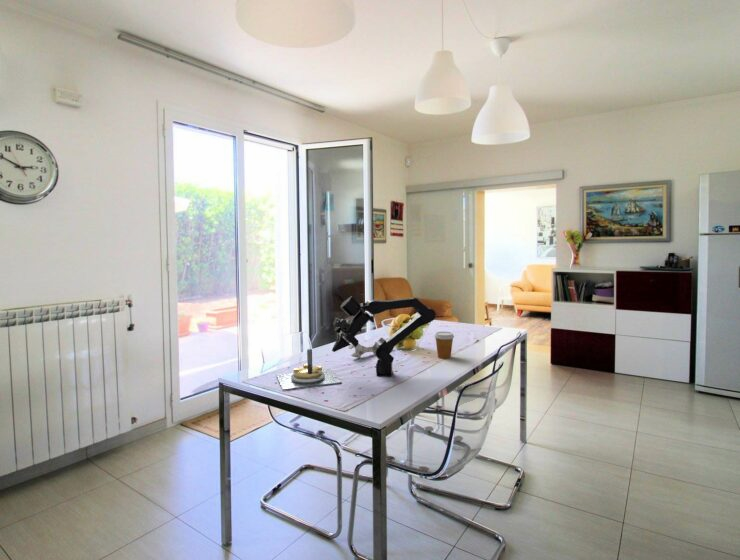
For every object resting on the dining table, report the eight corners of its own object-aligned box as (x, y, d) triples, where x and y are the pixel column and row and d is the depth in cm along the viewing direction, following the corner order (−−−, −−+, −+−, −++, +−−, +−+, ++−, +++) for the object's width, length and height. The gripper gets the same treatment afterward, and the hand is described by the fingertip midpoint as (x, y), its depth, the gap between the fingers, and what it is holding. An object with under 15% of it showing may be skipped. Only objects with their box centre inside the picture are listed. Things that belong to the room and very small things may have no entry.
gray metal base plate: (330, 370, 195) (329, 365, 195) (341, 383, 176) (341, 378, 176) (276, 376, 187) (276, 371, 187) (282, 390, 169) (282, 385, 168)
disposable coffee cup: (448, 353, 220) (448, 330, 219) (457, 358, 211) (457, 334, 210) (431, 355, 218) (431, 332, 217) (439, 360, 209) (439, 336, 208)
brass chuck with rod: (325, 371, 187) (325, 343, 185) (317, 379, 175) (316, 350, 174) (299, 369, 189) (298, 343, 188) (289, 378, 177) (288, 349, 176)
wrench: (392, 355, 231) (350, 359, 211) (390, 354, 232) (347, 358, 212) (394, 340, 231) (351, 343, 210) (391, 339, 232) (348, 342, 212)
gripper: (338, 308, 190) (314, 334, 187) (350, 314, 172) (324, 343, 169) (355, 324, 193) (332, 350, 190) (369, 332, 175) (343, 361, 173)
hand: (332, 351), depth 180 cm, fingers closed
